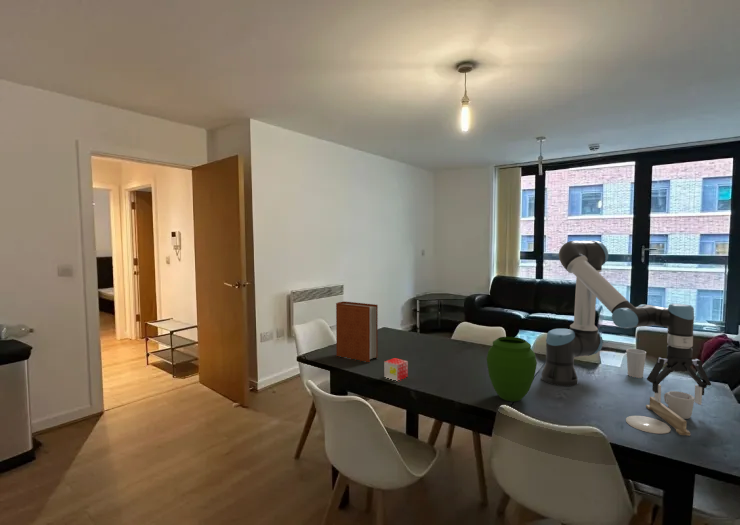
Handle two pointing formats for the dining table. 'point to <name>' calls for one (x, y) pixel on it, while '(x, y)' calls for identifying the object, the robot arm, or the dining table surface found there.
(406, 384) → the dining table surface
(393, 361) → the puzzle cube
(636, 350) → the cup
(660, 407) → the rail
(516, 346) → the vase
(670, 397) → the cup
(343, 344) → the book
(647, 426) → the coaster
